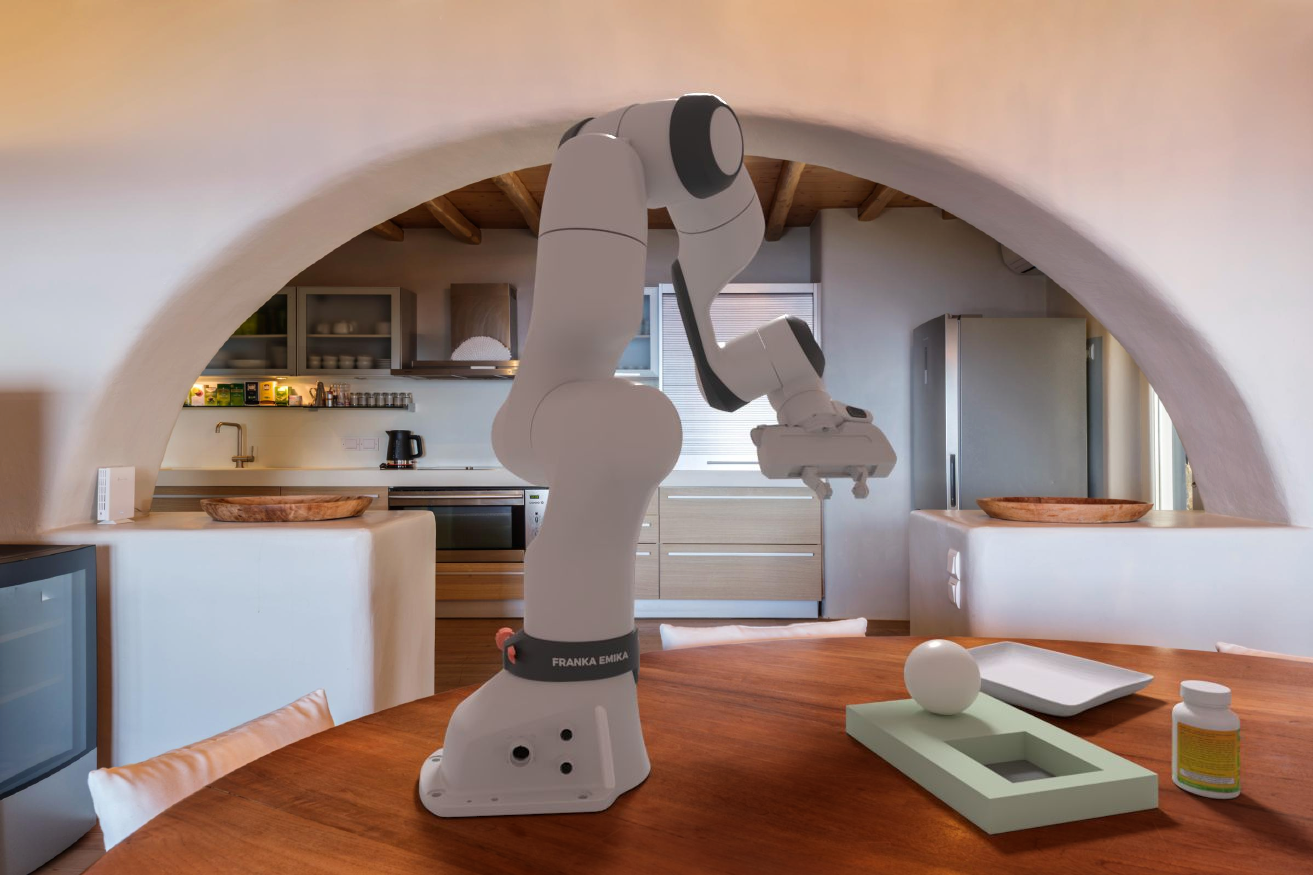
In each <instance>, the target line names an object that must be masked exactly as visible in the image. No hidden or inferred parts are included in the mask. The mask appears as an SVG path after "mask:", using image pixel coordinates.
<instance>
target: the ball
mask: <svg viewBox="0 0 1313 875" xmlns="http://www.w3.org/2000/svg"><path fill="white" fill-rule="evenodd" d="M903 667H904V670H903V677H904V684H905V687H906V690H907V692H908V694H909V695H910V697H911V699H914V700H915V701H916V703H918V704H919V705H920V706H921V707H923V708H924V709H926V710H928V711H930V712H932V713H935V714H940V715H953V714H957V713H960V712H962V711H964V710H966V709H967V708H968V707H970V706H971V705H972V704H973V702H974V701H975V700H976V698H977V696H978V694H979V691H980V686H981V675H980V671H979V668H978V665H977V663H976V661H975V660H974V658H973V657H972V655H971V654H970V653H969V652H968V651H967V650H966V648H965V647H963V646H962V645H960V644H958V643H956V642H953V641H951V640H949V639H947V640H946V639H942V638H941V639H940V638H939V639H938V638H937V639H936V638H935V639H931V640H927V641H925V642H922V643H920V644H918V645H917V646H916V647H914V648H913V649H912V651H910V653H909V655H908V657H906V661H905V663H904V666H903Z"/></svg>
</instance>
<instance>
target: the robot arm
mask: <svg viewBox="0 0 1313 875" xmlns="http://www.w3.org/2000/svg"><path fill="white" fill-rule="evenodd" d="M743 136H744V135H743V132H742V128H741V123H740V122H739V119H738V117H737V114H736V113H735V112H734V110H733V109H732V108H731V107H730V105H728V103H726V102H725V101H724V100H723V99H722V98H720V97H719V96H717V95H715V94H711V93H686V94H683V95H681V97H679V98H668V99H659V100H655V101H648V102H645V103H633V104H630V105H626V106H623V107H620V108H617V109H614V110H611V111H608V112H607V113H604V114H602V115H599V116H591V117H588V118H585V119H583V120H581V121H579V122H577V123H575V124H574V125H573V126H571V127H570V128H569V129H568V130H567V131H565V132H564V134H563V135H562V137H561V138H560V141H559V144H558V147H557V151H556V152H555V153H554V157H553V159H552V162H551V165H550V169H549V170H550V171H549V174H548V177H547V181H546V185H545V191H544V193H543V194H544V195H543V200H542V204H541V205H542V206H541V212H540V218H539V219H540V221H539V228H538V236H537V237H538V240H537V253H536V266H535V275H534V277H535V279H534V289H533V299H532V310H531V315H530V321H529V326H528V330H527V335H526V338H525V340H524V341H525V342H524V344H523V348H522V352H521V354H520V358H519V361H518V365H517V369H516V372H515V376H514V378H513V382H512V385H511V388H510V391H509V393H508V395H507V397H506V399H505V401H504V402H503V404H502V405H501V406H500V407H499V409H498V411H497V412H496V414H495V416H494V419H493V421H492V426H491V432H490V437H491V438H490V439H491V440H490V441H491V445H492V446H491V447H492V450H493V452H494V454H495V457H496V458H497V460H498V462H499V463H500V464H501V465H502V467H504V468H505V470H506V471H509V472H510V473H511V474H513V475H514V476H516V477H518V478H519V479H521V480H523V481H526V483H529V484H531V485H533V486H538V487H543V488H548V495H547V499H546V504H545V508H544V513H543V516H542V519H541V520H542V521H541V524H540V526H539V529H538V530H537V532H536V533H537V534H536V535H535V537H534V538H533V540H531V541H530V543H529V544H528V545H527V547H526V550H525V553H524V555H523V627H522V628H520V629H519V630H517V631H516V632H514V631H513V629H511V628H509V627H503V628H500V629H498V632H497V633H496V634H495V643H496V646H497V647H498V649H500V650H501V651H502V666H503V668H502V670H500V671H499V672H498V673H497V674H495V675H494V676H493V677H491V679H489V680H488V681H486V682H485V683H484V684H482V685H481V687H479V688H478V689H477V690H475V691H474V692H472V694H470V695H469V696H467V697H466V698H465V699H464V700H462V701H461V702H460V703H459V704H458V705H457V707H456V708H455V709H454V711H453V713H452V715H451V718H450V720H449V722H448V725H447V728H446V733H445V736H444V741H443V747H442V748H439V749H437V750H435V751H434V752H433V753H431V754H430V755H429V756H428V757H427V758H426V760H425V761H424V762H423V764H422V766H421V769H420V772H419V773H420V774H419V783H418V794H419V798H420V801H421V802H422V804H423V806H424V807H425V808H426V809H427V810H428V811H430V812H431V813H433V814H434V815H436V816H438V817H443V818H444V817H445V818H452V817H477V816H478V817H479V816H481V817H482V816H485V817H486V816H504V815H505V816H507V815H510V816H511V815H533V814H534V815H535V814H539V815H540V814H561V813H563V814H564V813H585V812H586V813H588V812H589V813H591V812H599V811H600V812H602V811H603V810H606V809H607V808H610V806H612V804H614V802H615V801H616V799H617V798H618V797H619V796H620V795H622V794H624V793H626V792H627V791H629V790H632V789H633V788H635V787H636V786H638V785H639V784H641V783H642V782H643V781H644V780H645V779H647V777H648V776H649V774H650V771H651V762H650V759H649V756H648V752H647V748H646V744H645V740H644V736H643V732H642V724H641V719H640V712H639V711H640V710H639V704H638V692H637V684H638V683H639V674H640V671H641V670H640V669H641V668H640V666H641V662H640V660H641V657H640V656H641V655H640V654H641V647H640V646H641V644H640V637H639V628H637V627H636V626H635V596H636V595H635V594H636V591H635V587H636V585H635V584H636V582H635V580H636V560H637V550H638V543H639V540H640V539H639V538H640V534H641V530H642V526H643V524H644V519H645V517H646V514H647V510H648V508H649V506H650V503H651V500H652V497H653V495H654V493H655V492H656V490H657V489H658V487H659V486H660V484H661V483H662V482H663V481H664V480H665V479H666V478H668V476H669V475H670V474H671V473H672V471H673V470H674V469H675V468H676V465H677V463H678V461H679V458H680V456H681V452H682V447H683V441H684V440H683V438H684V434H683V433H684V432H683V425H682V420H681V418H680V414H679V412H678V410H677V407H676V406H675V404H674V403H673V401H672V400H671V399H670V398H669V396H668V395H666V393H665V392H663V391H661V390H660V389H659V388H656V387H655V386H652V385H650V384H645V383H642V382H638V381H635V380H631V379H627V378H621V377H615V374H616V371H617V368H618V366H619V363H620V361H621V358H622V356H623V354H624V352H625V350H626V348H627V347H628V345H629V344H630V343H631V342H632V341H633V339H634V338H635V336H637V334H638V332H639V329H640V328H641V325H642V322H643V314H644V299H645V285H646V284H645V283H646V269H647V268H646V267H647V253H648V235H649V233H648V231H649V230H648V228H649V226H648V225H649V224H648V223H649V221H648V219H649V216H648V215H649V214H648V209H649V210H650V209H651V210H656V209H662V208H665V207H666V210H667V211H668V214H669V217H670V219H671V221H672V223H673V225H674V228H675V230H676V231H677V232H676V233H677V234H678V241H679V242H678V244H679V246H678V248H679V249H678V255H677V257H676V259H675V260H674V261H673V263H671V268H670V272H671V282H672V286H673V290H674V294H675V297H676V303H677V306H678V312H679V315H680V317H681V321H682V324H683V325H682V326H683V327H684V328H683V329H684V332H685V335H686V339H687V342H688V345H689V349H690V350H691V354H692V357H693V361H694V373H695V379H696V380H695V381H696V385H697V387H698V390H699V393H700V395H701V397H702V398H703V399H704V401H705V402H706V404H707V405H709V407H710V408H713V409H715V410H718V411H721V412H726V413H734V412H736V411H737V410H739V409H741V408H744V407H745V406H747V405H749V404H750V403H751V402H752V401H755V400H757V399H759V398H762V397H763V396H765V395H766V397H767V399H768V402H769V404H770V406H771V408H772V409H773V410H774V411H775V413H776V420H777V424H765V423H764V424H763V423H761V424H757V425H756V426H755V427H753V428H752V429H751V430H750V432H749V434H750V435H749V436H750V439H751V441H752V444H753V445H754V446H755V447H756V455H757V456H756V457H757V461H758V465H759V468H760V472H761V474H762V475H763V476H764V477H766V478H767V479H768V480H799V479H800V480H802V482H803V484H805V485H806V486H807V487H808V488H810V489H811V490H812V491H814V492H815V494H816V496H817V498H818V500H819V501H820V500H822V501H824V500H825V501H826V500H831V497H832V496H833V494H834V492H833V491H834V490H833V488H832V487H831V484H830V482H824V481H823V480H822V479H826V480H827V479H852V482H854V486H853V487H852V489H851V492H852V495H853V496H854V499H855V500H858V499H859V500H863V499H865V500H866V499H867V497H868V496H869V495H870V489H869V487H868V485H867V479H872V478H873V479H876V478H877V479H879V478H881V479H885V478H888V477H889V476H890V474H891V473H892V471H893V469H894V468H895V466H896V464H897V460H898V456H897V454H896V452H895V449H894V447H893V446H892V444H891V443H890V441H889V439H888V438H887V436H886V435H885V433H884V432H883V431H882V429H880V428H879V426H877V425H875V424H873V421H874V415H873V414H872V413H871V411H869V410H867V409H865V408H864V409H863V408H860V407H857V406H853V405H849V404H846V403H843V402H841V401H839V400H836V399H833V397H832V396H831V395H830V394H829V393H828V392H827V391H826V390H825V383H824V380H823V375H824V371H825V367H826V359H825V356H824V353H823V351H822V349H821V347H820V345H819V343H818V342H817V341H816V339H815V337H814V334H813V332H812V330H811V328H810V326H809V324H808V323H807V321H805V320H803V319H801V318H798V317H796V316H794V315H790V314H784V315H781V316H778V317H776V318H773V319H771V320H768V321H766V322H764V323H762V324H760V325H758V326H756V327H755V328H753V329H751V330H748V331H747V332H744V333H743V334H742V333H741V334H740V335H738V336H735V337H734V338H731V339H730V340H727V341H724V342H718V341H717V337H716V333H715V329H714V326H713V323H712V322H713V321H712V318H711V313H710V312H711V311H710V310H711V307H712V304H713V303H714V301H715V299H717V296H718V295H719V294H720V293H721V292H722V290H723V289H724V288H725V287H726V286H727V285H728V284H729V283H730V282H731V281H732V280H733V279H735V277H737V275H739V274H740V273H741V272H742V271H743V270H744V269H745V268H747V266H748V265H749V264H750V262H751V261H752V260H753V259H754V258H755V256H756V255H757V252H758V250H759V249H760V246H761V245H762V241H763V239H764V236H765V235H764V234H765V230H766V223H765V222H766V221H765V217H764V212H763V208H762V205H761V202H760V199H759V195H758V192H757V191H756V188H755V185H754V183H753V180H752V179H751V176H750V174H749V172H748V170H747V168H746V165H745V164H744V153H745V152H744V151H745V146H744V145H745V144H744V137H743Z"/></svg>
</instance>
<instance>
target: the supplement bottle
mask: <svg viewBox="0 0 1313 875" xmlns="http://www.w3.org/2000/svg"><path fill="white" fill-rule="evenodd" d="M1179 695H1180V698H1181V699H1182V700H1183V701H1182V702H1178V703H1177V704H1175V705H1174V706H1173V708H1172V712H1171V778H1172V781H1173V783H1174V784H1175V785H1176V786H1178V787H1179V788H1181V789H1183V790H1184V791H1187V792H1189V793H1192V794H1194V795H1198V796H1201V797H1205V798H1210V799H1217V800H1220V799H1221V800H1227V799H1234V798H1237V797H1239V795H1240V794H1241V721H1240V720H1241V719H1240V717H1239V716H1238V715H1237V714H1236V713H1235V712H1234V711H1232V710H1231V709H1229V707H1231V706H1232V689H1230V688H1229V687H1227V686H1225V685H1222V684H1219V683H1215V682H1210V681H1206V680H1196V679H1195V680H1190V679H1189V680H1183V681H1181V682H1180V693H1179Z"/></svg>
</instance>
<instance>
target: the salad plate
mask: <svg viewBox="0 0 1313 875" xmlns="http://www.w3.org/2000/svg"><path fill="white" fill-rule="evenodd" d="M965 649H966V648H965ZM966 650H967V651H968V652H969V653H970V654H971V655H972V657H973V658H974V660H975V661H976V663H977V665H978V668H979V671H980V675H981V686H980V691H979V692H982V693H984V694H987V695H989V696H991V697H993V698H995V699H997V700H999V701H1002V702H1004V703H1007V704H1010V705H1015V706H1018V707H1022V708H1025V709H1029V710H1032V711H1035V712H1038V713H1043V714H1045V715H1051V716H1055V717H1070V716H1075V715H1077V714H1080V713H1082V712H1084V711H1086V710H1088V709H1092V708H1094V707H1098V706H1100V705H1102V704H1104V703H1108V702H1110V701H1113V700H1116V699H1119V698H1122V697H1126V696H1129V695H1132V694H1134V693H1137V692H1139V691H1141V690H1144V689H1145V688H1147V687H1148V686H1150V684H1151V683H1153V681H1154V680H1155V677H1154V675H1152V674H1148V673H1144V672H1139V671H1136V670H1132V669H1128V668H1124V667H1120V666H1118V665H1117V666H1116V665H1113V664H1108V663H1105V662H1100V661H1096V660H1091V659H1088V658H1084V657H1081V656H1076V655H1071V654H1067V653H1063V652H1058V651H1054V650H1050V649H1045V648H1041V647H1036V646H1033V645H1027V644H1023V643H1019V642H1015V641H1009V640H1008V641H1007V640H1006V641H999V642H996V643H995V642H994V643H990V644H985V645H979V646H975V647H971V648H967V649H966Z"/></svg>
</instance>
